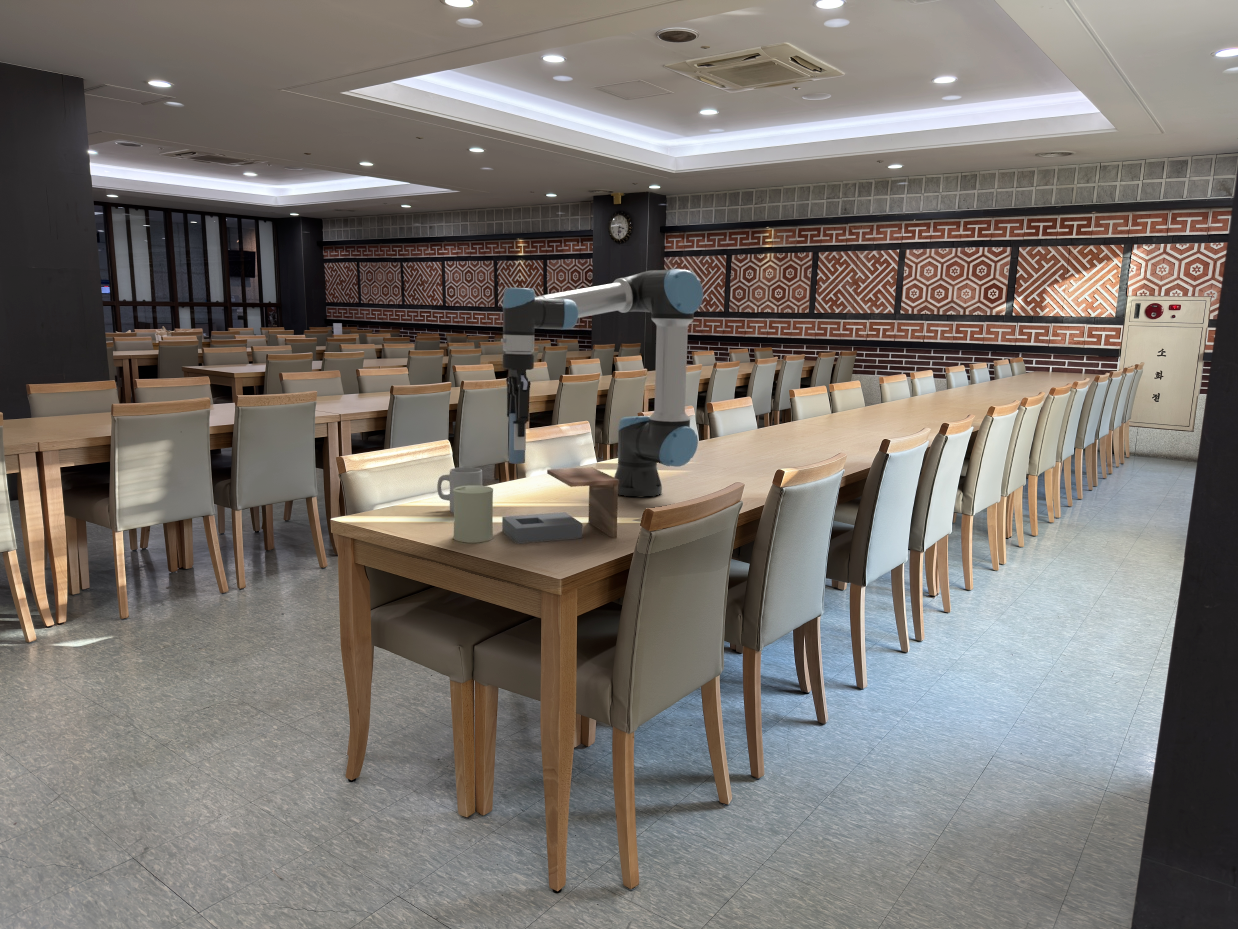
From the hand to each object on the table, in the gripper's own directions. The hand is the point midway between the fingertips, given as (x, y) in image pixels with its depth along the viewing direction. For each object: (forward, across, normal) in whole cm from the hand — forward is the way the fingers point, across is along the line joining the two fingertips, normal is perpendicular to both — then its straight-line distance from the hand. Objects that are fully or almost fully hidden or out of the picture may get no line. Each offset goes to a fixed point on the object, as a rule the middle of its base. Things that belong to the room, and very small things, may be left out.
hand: (517, 448), depth 204 cm
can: (+19, +11, -13) cm, 26 cm away
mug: (+19, -17, -11) cm, 28 cm away
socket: (+19, +13, +3) cm, 23 cm away
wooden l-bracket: (+19, +13, +13) cm, 26 cm away
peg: (+4, 0, 0) cm, 4 cm away
